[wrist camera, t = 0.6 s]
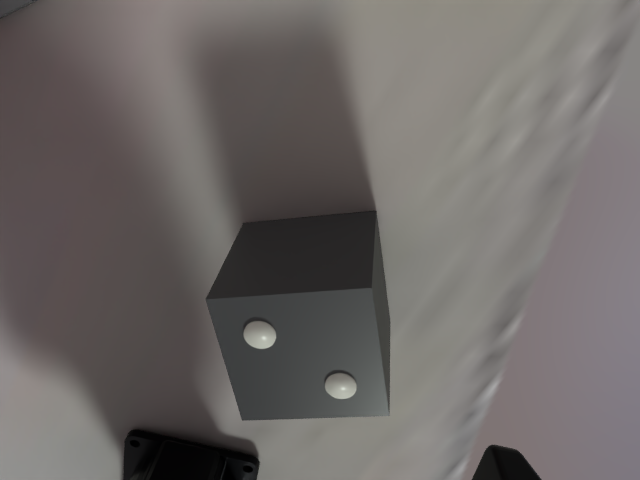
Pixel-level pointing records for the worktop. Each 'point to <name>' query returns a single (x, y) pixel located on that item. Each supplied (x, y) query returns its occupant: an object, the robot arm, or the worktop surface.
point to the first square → (12, 6)
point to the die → (305, 318)
